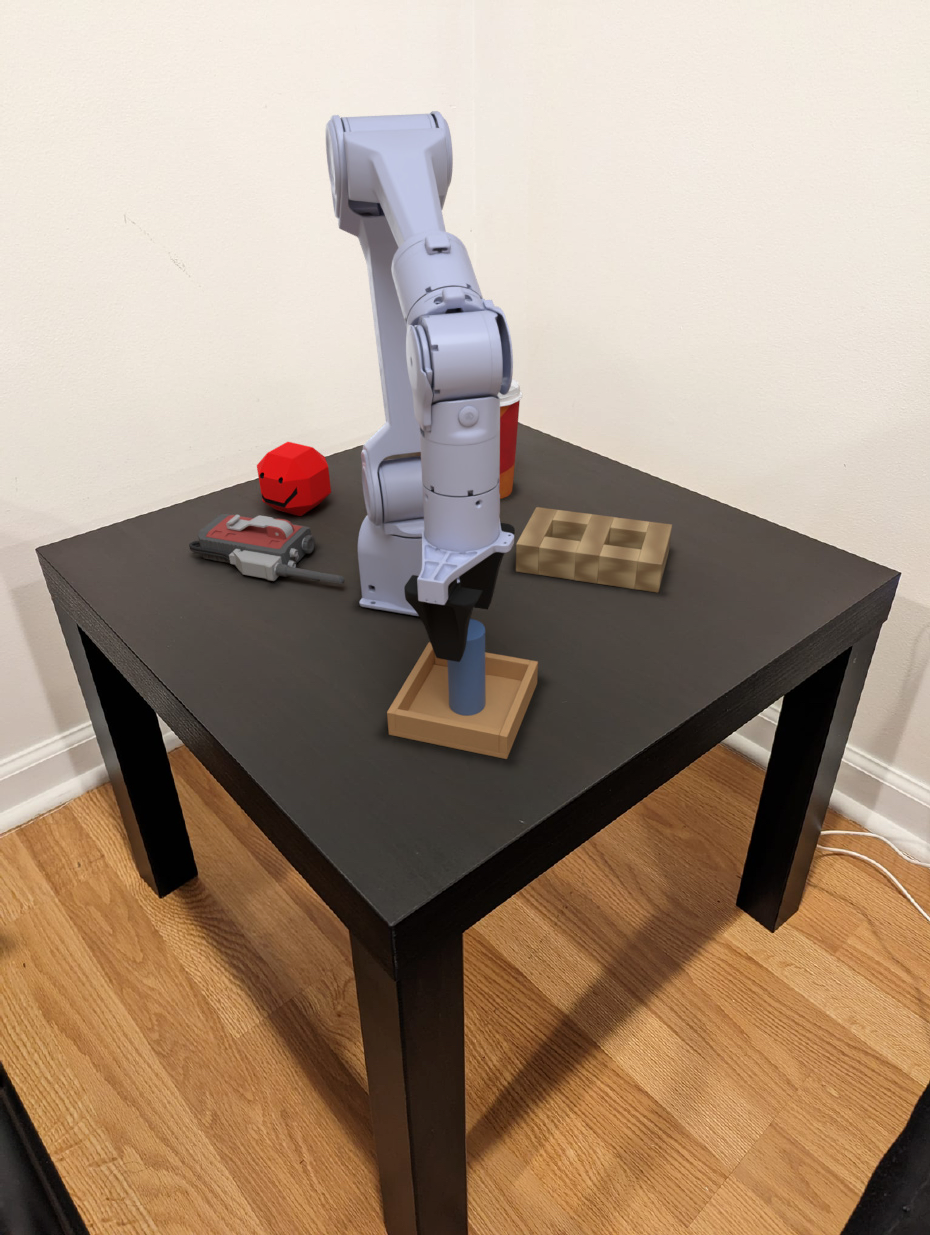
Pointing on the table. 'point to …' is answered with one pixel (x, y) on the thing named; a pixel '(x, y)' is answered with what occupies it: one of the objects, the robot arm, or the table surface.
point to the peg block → (594, 549)
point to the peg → (469, 674)
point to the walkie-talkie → (259, 546)
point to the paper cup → (508, 436)
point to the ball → (294, 478)
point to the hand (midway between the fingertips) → (463, 630)
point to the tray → (486, 732)
